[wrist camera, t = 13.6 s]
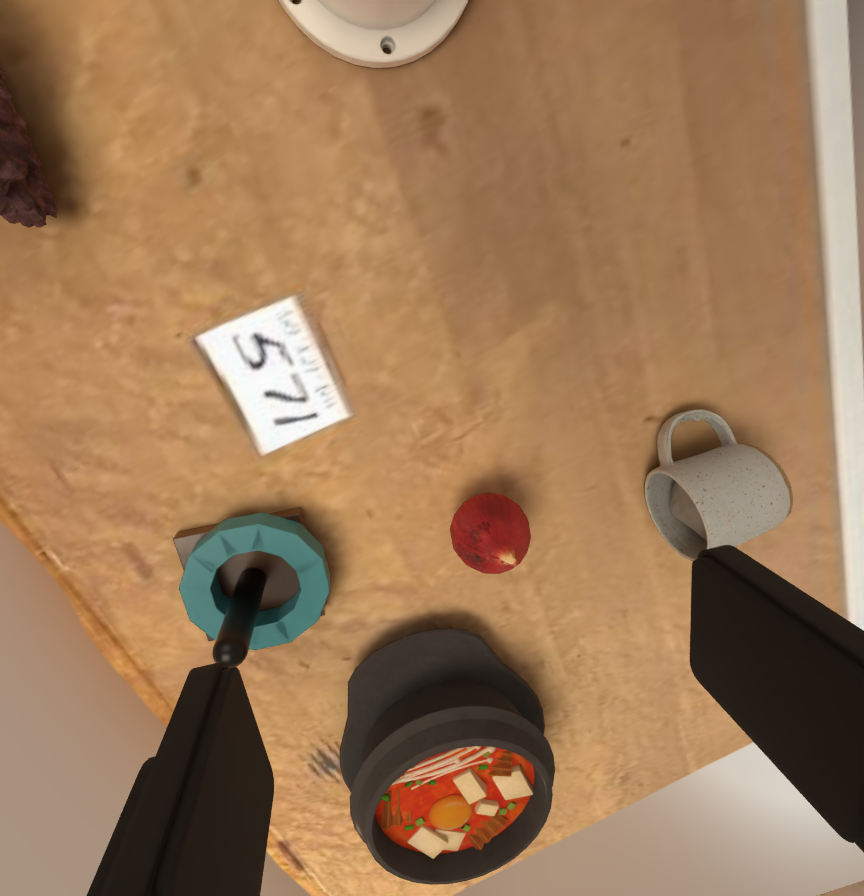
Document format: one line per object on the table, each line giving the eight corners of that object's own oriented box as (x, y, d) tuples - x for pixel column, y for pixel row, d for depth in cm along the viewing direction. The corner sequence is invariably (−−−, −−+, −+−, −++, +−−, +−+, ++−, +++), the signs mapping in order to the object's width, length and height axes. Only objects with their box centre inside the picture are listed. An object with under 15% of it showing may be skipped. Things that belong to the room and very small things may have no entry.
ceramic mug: (734, 503, 45) (810, 542, 38) (651, 535, 44) (711, 581, 37) (719, 391, 42) (799, 411, 34) (629, 425, 41) (690, 452, 34)
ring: (172, 529, 36) (162, 542, 34) (313, 502, 37) (312, 513, 35) (210, 644, 39) (203, 661, 37) (339, 615, 40) (339, 631, 38)
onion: (449, 551, 42) (473, 609, 34) (436, 488, 40) (458, 535, 32) (516, 533, 42) (554, 586, 35) (506, 471, 40) (544, 512, 33)
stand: (177, 531, 37) (120, 615, 28) (300, 506, 38) (286, 579, 29) (212, 631, 40) (171, 739, 30) (325, 606, 41) (320, 702, 31)
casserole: (297, 657, 42) (287, 742, 34) (507, 586, 43) (544, 651, 36) (383, 851, 50) (391, 956, 42) (558, 785, 52) (597, 875, 44)
